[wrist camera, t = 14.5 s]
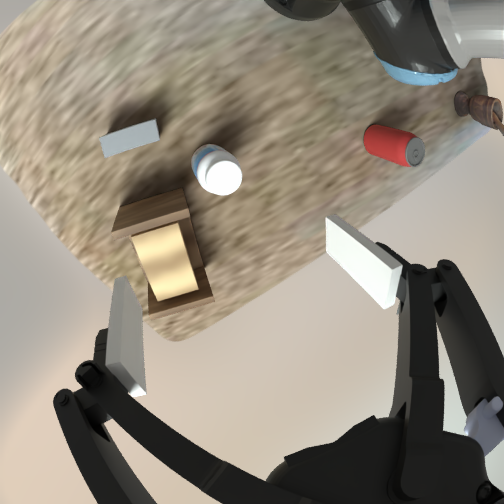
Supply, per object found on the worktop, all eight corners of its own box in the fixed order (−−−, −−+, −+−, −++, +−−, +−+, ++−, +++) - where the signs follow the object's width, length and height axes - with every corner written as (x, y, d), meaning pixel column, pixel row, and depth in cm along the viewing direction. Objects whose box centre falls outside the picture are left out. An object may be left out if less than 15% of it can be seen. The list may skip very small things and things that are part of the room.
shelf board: (195, 277, 47) (198, 289, 45) (157, 288, 46) (157, 301, 43) (176, 213, 41) (177, 223, 38) (132, 227, 40) (131, 237, 37)
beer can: (366, 159, 52) (407, 175, 42) (358, 130, 49) (401, 142, 39) (387, 147, 52) (429, 161, 42) (380, 119, 49) (423, 129, 39)
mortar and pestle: (470, 120, 56) (524, 139, 40) (458, 132, 57) (516, 153, 40) (462, 86, 50) (521, 100, 33) (449, 96, 50) (512, 112, 34)
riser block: (107, 133, 36) (99, 137, 31) (155, 118, 37) (155, 119, 32) (111, 151, 38) (104, 158, 33) (159, 136, 39) (159, 140, 34)
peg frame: (119, 207, 42) (111, 232, 34) (182, 187, 44) (188, 208, 36) (150, 284, 51) (151, 320, 43) (204, 268, 53) (214, 301, 45)
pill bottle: (194, 183, 45) (204, 206, 35) (187, 147, 41) (196, 160, 32) (229, 175, 46) (250, 196, 37) (225, 140, 43) (244, 151, 33)
